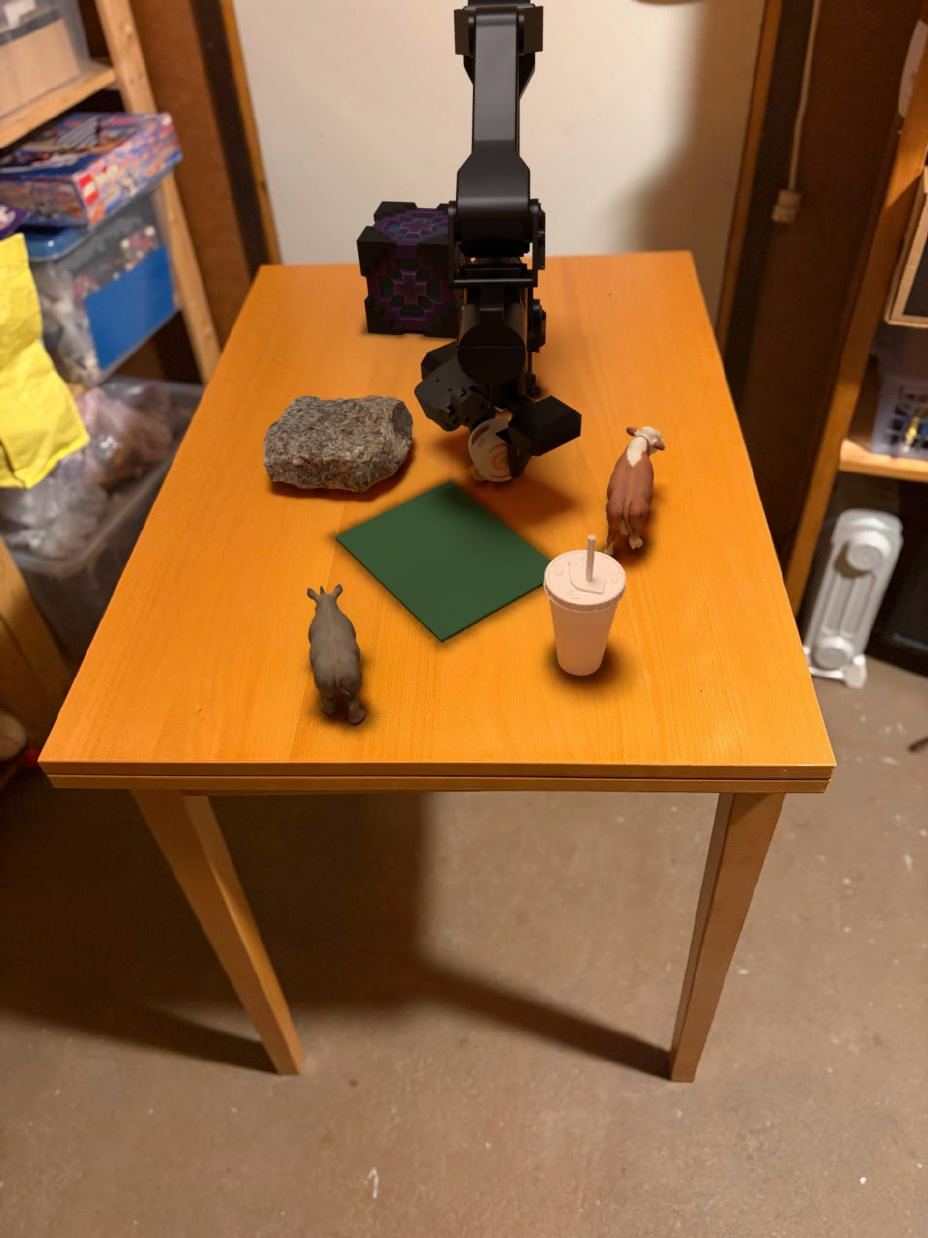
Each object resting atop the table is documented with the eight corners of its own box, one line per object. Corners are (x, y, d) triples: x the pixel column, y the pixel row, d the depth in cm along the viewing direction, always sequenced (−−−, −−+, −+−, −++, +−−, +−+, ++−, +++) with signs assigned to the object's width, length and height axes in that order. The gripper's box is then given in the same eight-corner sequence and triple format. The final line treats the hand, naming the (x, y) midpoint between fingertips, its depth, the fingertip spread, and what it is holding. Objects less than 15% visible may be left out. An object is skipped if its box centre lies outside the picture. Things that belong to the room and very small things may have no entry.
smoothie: (567, 699, 76) (574, 573, 66) (527, 648, 80) (528, 523, 70) (632, 669, 78) (648, 543, 68) (590, 622, 82) (600, 496, 72)
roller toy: (534, 480, 96) (534, 434, 92) (474, 491, 96) (472, 445, 91) (522, 456, 99) (522, 410, 95) (464, 467, 99) (462, 420, 94)
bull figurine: (663, 486, 95) (673, 418, 89) (636, 572, 86) (645, 503, 80) (621, 479, 96) (628, 411, 90) (590, 563, 87) (595, 494, 81)
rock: (256, 495, 97) (396, 510, 95) (244, 445, 92) (391, 460, 90) (294, 424, 105) (423, 436, 103) (285, 374, 101) (419, 387, 98)
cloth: (449, 482, 97) (449, 480, 97) (563, 573, 86) (563, 570, 86) (335, 538, 91) (334, 536, 91) (441, 642, 81) (441, 640, 81)
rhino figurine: (351, 606, 85) (342, 556, 80) (373, 721, 75) (364, 673, 71) (306, 614, 84) (295, 564, 80) (322, 731, 75) (310, 683, 70)
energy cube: (391, 289, 128) (382, 200, 119) (476, 294, 126) (473, 204, 117) (368, 332, 120) (356, 240, 111) (458, 338, 118) (453, 244, 109)
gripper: (368, 318, 88) (386, 454, 99) (489, 400, 77) (493, 542, 88) (462, 282, 92) (469, 416, 104) (589, 354, 82) (581, 495, 93)
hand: (499, 465), depth 97 cm, fingers closed on roller toy, 5 cm apart
